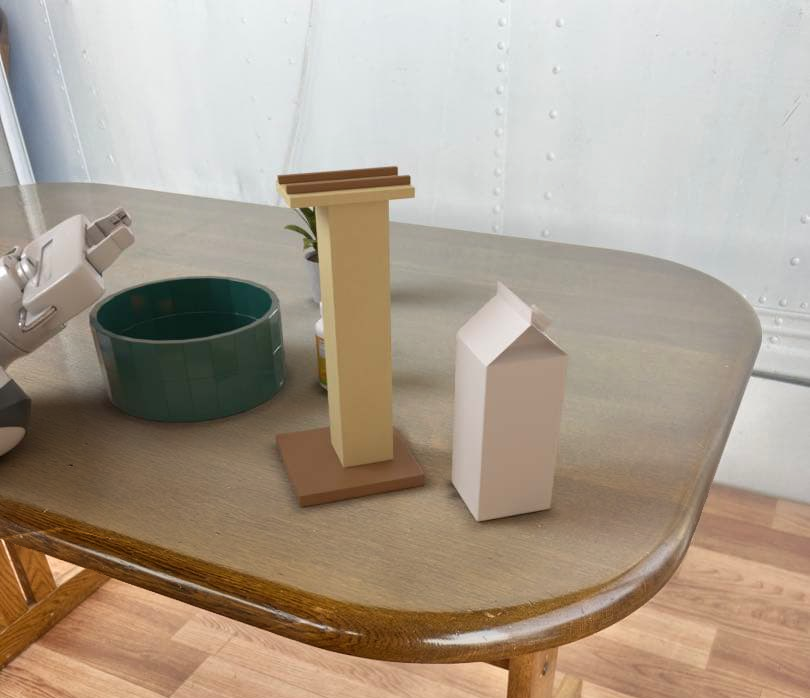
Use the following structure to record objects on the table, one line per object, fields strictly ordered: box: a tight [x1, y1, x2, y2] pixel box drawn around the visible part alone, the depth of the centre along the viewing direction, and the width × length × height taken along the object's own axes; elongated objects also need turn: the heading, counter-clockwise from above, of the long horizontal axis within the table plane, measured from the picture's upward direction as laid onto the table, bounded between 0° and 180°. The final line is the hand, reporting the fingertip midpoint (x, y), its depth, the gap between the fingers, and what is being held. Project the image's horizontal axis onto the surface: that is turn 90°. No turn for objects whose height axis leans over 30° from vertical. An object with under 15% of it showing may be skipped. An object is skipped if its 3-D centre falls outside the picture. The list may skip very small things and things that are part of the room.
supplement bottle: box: [314, 301, 328, 391], centre depth 92 cm, size 5×5×10 cm
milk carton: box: [451, 281, 569, 522], centre depth 70 cm, size 7×7×19 cm
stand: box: [275, 165, 425, 508], centre depth 72 cm, size 12×12×27 cm
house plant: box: [283, 207, 321, 306], centre depth 111 cm, size 14×14×16 cm
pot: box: [88, 275, 287, 423], centre depth 93 cm, size 21×21×9 cm
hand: (128, 222), depth 84 cm, fingers open, 5 cm apart
